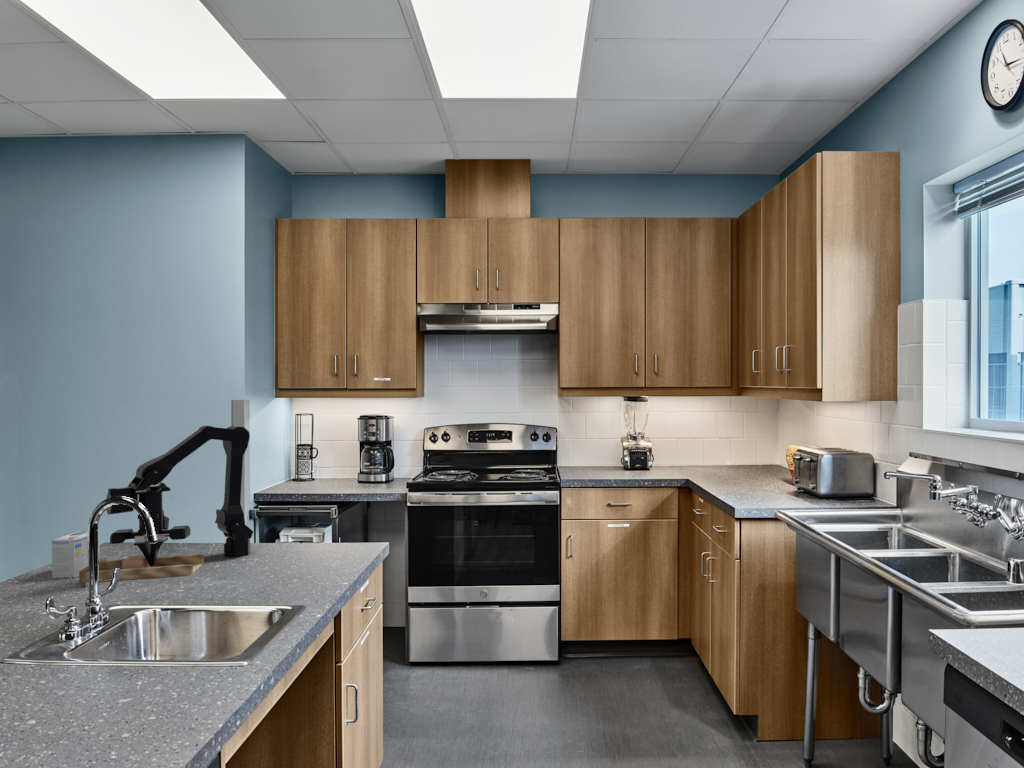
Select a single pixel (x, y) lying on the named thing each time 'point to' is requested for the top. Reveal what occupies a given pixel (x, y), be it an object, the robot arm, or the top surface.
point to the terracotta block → (135, 562)
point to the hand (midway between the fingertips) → (151, 565)
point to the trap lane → (146, 568)
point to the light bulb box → (70, 554)
